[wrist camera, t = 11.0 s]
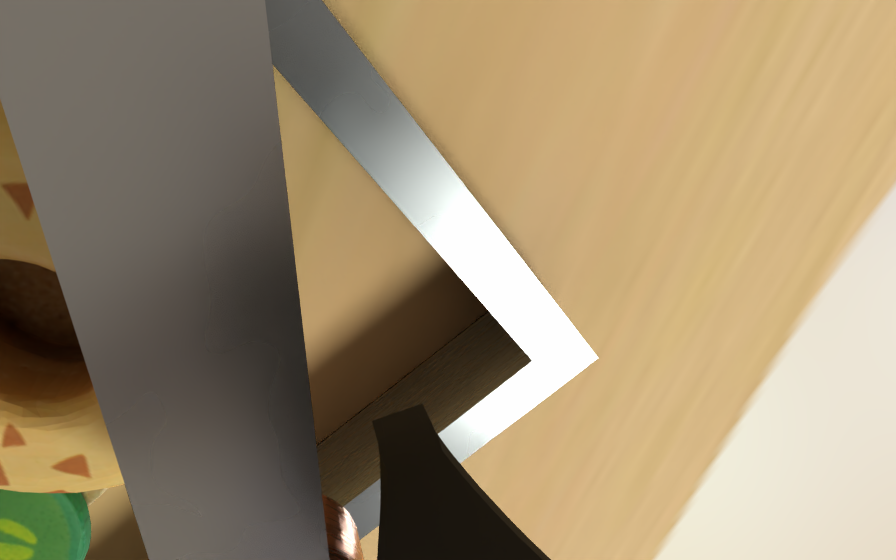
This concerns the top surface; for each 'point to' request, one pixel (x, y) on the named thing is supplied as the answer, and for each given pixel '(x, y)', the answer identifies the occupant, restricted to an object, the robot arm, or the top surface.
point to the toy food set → (42, 392)
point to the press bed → (455, 239)
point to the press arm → (177, 263)
